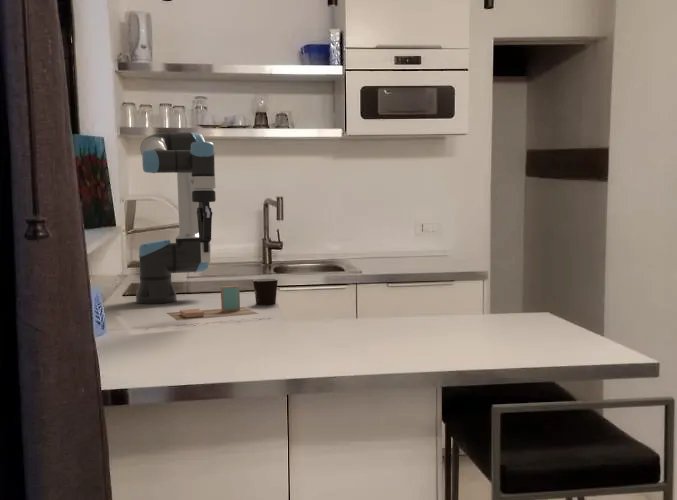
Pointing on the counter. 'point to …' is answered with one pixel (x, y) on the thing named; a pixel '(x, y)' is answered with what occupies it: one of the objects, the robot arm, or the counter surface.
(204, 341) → the counter surface
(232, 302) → the tile
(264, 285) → the coffee mug
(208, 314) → the board
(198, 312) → the tile
